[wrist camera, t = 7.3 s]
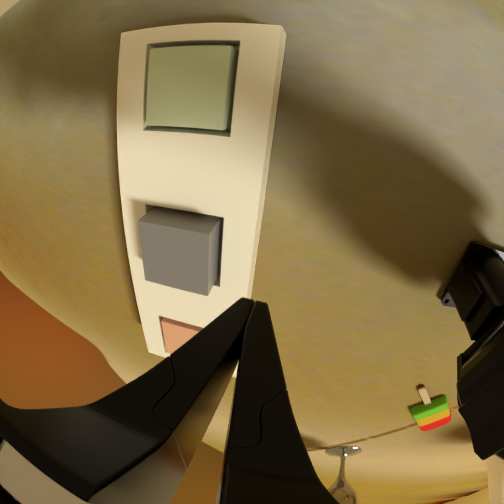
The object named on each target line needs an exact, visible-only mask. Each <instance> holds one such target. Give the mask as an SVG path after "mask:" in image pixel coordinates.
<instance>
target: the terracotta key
mask: <svg viewBox="0 0 504 504" xmlns="http://www.w3.org/2000/svg"><path fill="white" fill-rule="evenodd" d="M161 323H162V329H163V335H164V340H165V346H166V351H167V353H170V354H171V353H173V352H174V351H175V350H177V349H178V348H179V347H180V346H182V345H183V344H184V343H185V342H187V341H188V340H189V339H190V338H192V337H193V336H194V335H195V334H197V333H198V332H199V331H200V330H202V329H203V328H202V327H198V326H195V325H191V324H187V323H184V322H180V321H177V320H173V319H170V318H166V317H163V319H162V320H161Z"/></svg>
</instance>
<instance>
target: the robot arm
mask: <svg viewBox="0 0 504 504" xmlns="http://www.w3.org/2000/svg"><path fill="white" fill-rule="evenodd" d="M474 246H475V248H474V249H473V247H474ZM446 299H447V300H446ZM441 303H442V304H443V305H444V306H450V307H456V309H457V311H458V313H459V316H460V318H461V320H462V321H463V322H464V323H465V326H466V328H467V331H468V333H469V336H470V338H471V340H475V342H474V343H473V344H472V345H471V346H470V347H469V348H468V349H467V350H466V351H465V352H464V353H461V354H460V355H459V356H458V357H457V400H458V405H459V407H460V408H459V409H458V410H459V412H460V414H461V415H462V417H463V418H464V420H465V422H466V424H467V426H468V428H469V431H470V434H471V438H472V443H473V448H474V452H475V453H476V454H477V455H478V456H479V457H480V458H481V459H482V460H485V459H487V458H489V457H491V456H492V455H496V456H497V457H499V458H501V459H502V460H504V251H503V250H500V249H497V248H494V247H491V246H488V245H485V244H482V243H479V242H476V241H472V242H471V243H470V244H469V245H468V248H467V250H466V252H465V254H464V256H463V258H462V260H461V262H460V264H459V266H458V268H457V270H456V272H455V274H454V276H453V278H452V279H451V281H450V283H449V285H448V287H447V288H446V290H445V292H444V294H443V296H442V297H441ZM238 361H239V362H238ZM237 364H238V368H237V374H236V380H235V387H234V393H233V399H232V406H231V412H230V418H229V424H228V431H227V437H226V443H225V449H224V456H223V463H222V468H221V474H220V481H219V487H218V493H217V499H216V504H340V503H339V502H338V501H337V500H336V499H335V498H334V496H333V495H332V494H331V493H330V492H329V491H328V490H327V489H326V488H325V486H324V485H323V484H322V482H321V481H320V479H319V478H318V476H317V474H316V472H315V470H314V467H313V465H312V463H311V460H310V458H309V455H308V453H307V450H306V448H305V445H304V443H303V440H302V437H301V435H300V432H299V430H298V427H297V424H296V421H295V418H294V415H293V411H292V408H291V404H290V400H289V396H288V391H287V390H286V388H287V387H286V383H285V378H284V374H283V369H282V365H281V361H280V356H279V352H278V347H277V343H276V338H275V334H274V330H273V325H272V321H271V316H270V312H269V308H268V304H267V303H265V302H261V301H255V302H254V300H253V299H249V298H245V297H241V298H240V299H239V300H237V301H236V302H235V303H234V304H232V305H231V306H230V307H229V308H228V309H226V310H225V311H224V312H223V313H221V314H220V315H219V316H218V317H217V318H215V319H214V320H213V321H212V322H210V323H209V324H208V325H207V326H205V327H204V328H203V329H202V330H200V331H199V332H198V333H197V334H195V335H194V336H193V337H192V338H190V339H189V340H188V341H187V342H185V343H184V344H183V345H182V346H180V347H179V348H178V349H177V350H175V351H174V352H173V353H171V354H170V357H169V356H167V357H166V358H165V359H164V360H162V361H161V362H160V363H159V364H157V365H156V366H154V367H153V368H152V369H150V370H149V371H147V372H146V373H144V374H143V375H141V376H140V377H138V378H136V379H135V380H133V381H131V382H130V383H128V384H126V385H125V386H123V387H121V388H119V389H117V390H116V391H114V392H112V393H110V394H109V395H107V396H105V397H103V398H101V399H99V400H98V401H95V402H93V403H90V404H87V405H83V406H78V407H66V408H50V409H18V408H14V407H12V406H9V405H7V404H6V403H5V402H4V401H2V399H1V398H0V504H169V503H170V501H171V499H172V497H173V495H174V494H175V492H176V489H177V488H178V486H179V484H180V482H181V480H182V478H183V476H184V474H185V472H186V469H187V468H188V466H189V464H190V462H191V460H192V458H193V456H194V454H195V452H196V450H197V448H198V446H199V444H200V442H201V440H202V438H203V436H204V434H205V432H206V430H207V428H208V426H209V424H210V422H211V420H212V418H213V416H214V414H215V411H216V409H217V407H218V405H219V403H220V401H221V399H222V397H223V395H224V392H225V390H226V388H227V386H228V384H229V382H230V380H231V377H232V375H233V373H234V371H235V369H236V366H237Z"/></svg>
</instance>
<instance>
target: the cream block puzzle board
mask: <svg viewBox="0 0 504 504" xmlns="http://www.w3.org/2000/svg"><path fill="white" fill-rule="evenodd" d="M285 43H286V33H285V31H284V29H283V27H282V26H279V25H268V24H253V23H196V24H181V25H170V26H161V27H153V28H146V29H140V30H134V31H128V32H123V33H121V41H120V51H119V65H118V83H117V148H118V167H119V182H120V193H121V204H122V213H123V222H124V229H125V237H126V244H127V251H128V257H129V263H130V269H131V274H132V280H133V285H134V290H135V295H136V300H137V305H138V309H139V314H140V318H141V323H142V327H143V331H144V335H145V339H146V343H147V347H148V350H149V352H150V353H153V354H156V355H159V356H162V357H165V358H166V357H167V356H169V357H170V353H167V351H166V346H165V340H164V335H163V329H162V323H161V320H162V319H163V317H166V318H170V319H173V320H177V321H180V322H184V323H187V324H191V325H195V326H198V327H202V328H204V327H205V326H207V325H208V324H209V323H210V322H212V321H213V320H214V319H215V318H217V317H218V316H219V315H220V314H221V313H223V312H224V311H225V310H226V309H228V308H229V307H230V306H231V305H232V304H234V303H235V302H236V301H237V300H239V299H240V298H241V297H245V298H249V299H251V293H252V286H253V279H254V271H255V264H256V257H257V250H258V243H259V236H260V229H261V221H262V214H263V207H264V200H265V192H266V185H267V178H268V171H269V163H270V156H271V148H272V141H273V134H274V126H275V119H276V111H277V104H278V96H279V89H280V81H281V73H282V66H283V58H284V50H285ZM178 46H233V47H235V48H237V49H239V57H238V66H237V75H236V84H235V94H234V104H233V114H232V124H231V127H229V128H227V129H225V130H213V129H202V128H189V127H173V126H147V125H146V105H147V82H148V67H149V55H150V49H153V48H164V47H178ZM154 206H160V207H166V208H172V209H178V210H184V211H190V212H196V213H201V214H207V215H213V216H218V217H221V230H220V248H219V267H218V277H217V279H216V281H215V283H214V285H213V287H212V289H211V291H210V293H209V295H208V296H204V295H200V294H196V293H192V292H188V291H184V290H180V289H176V288H172V287H169V286H165V285H161V284H157V283H153V282H150V281H146V280H145V275H144V268H143V261H142V253H141V245H140V237H139V228H138V220H139V219H140V218H142V217H143V216H144V215H145V214H146V213H147V212H148V211H150V210H151V209H152V208H153V207H154ZM238 362H239V361H238ZM237 368H238V364H237V366H236V369H235V371H234V373H233V375H232V377H236V374H237Z"/></svg>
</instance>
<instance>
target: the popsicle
mask: <svg viewBox="0 0 504 504" xmlns="http://www.w3.org/2000/svg"><path fill="white" fill-rule="evenodd" d="M418 391H419V393H420V396H421V398H422V400H423V402H424V403H423V404H420V405H417V406H414V407H412V408H411V414H412V416H413V417H414V419H415V421H416V422H417V424H418V426H419V427H420V429H421V430H422V431H428V430H431V429H434V428H436V427H439V426H442V425H444V424H447V423H448V422H450V420H451V413H450V409H449V405H448V402H447V398H446V395H443V396H441V397H438V398H436V399H433V400H430V397H429V395H428V393H427V390H426V388H425V387H421V388H419V389H418Z"/></svg>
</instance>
